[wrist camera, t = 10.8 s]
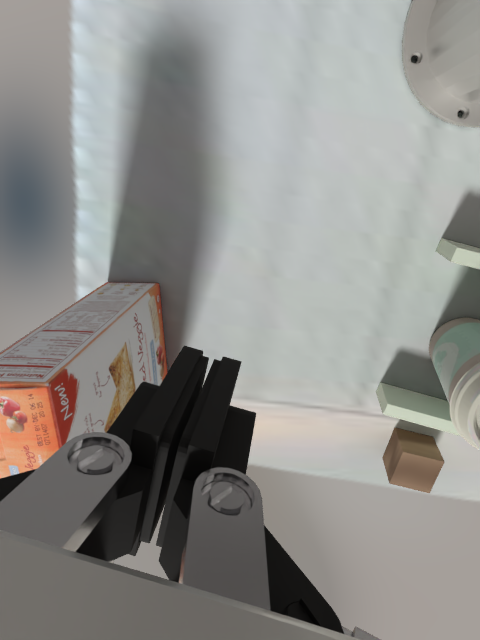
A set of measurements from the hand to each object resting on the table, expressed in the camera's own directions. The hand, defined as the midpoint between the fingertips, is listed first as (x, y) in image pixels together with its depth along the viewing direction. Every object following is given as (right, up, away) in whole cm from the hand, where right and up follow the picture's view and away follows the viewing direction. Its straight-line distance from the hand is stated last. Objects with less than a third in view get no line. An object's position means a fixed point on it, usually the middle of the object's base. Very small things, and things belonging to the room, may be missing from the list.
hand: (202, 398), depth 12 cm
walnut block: (+19, -11, +33) cm, 40 cm away
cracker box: (-9, 0, +33) cm, 34 cm away
